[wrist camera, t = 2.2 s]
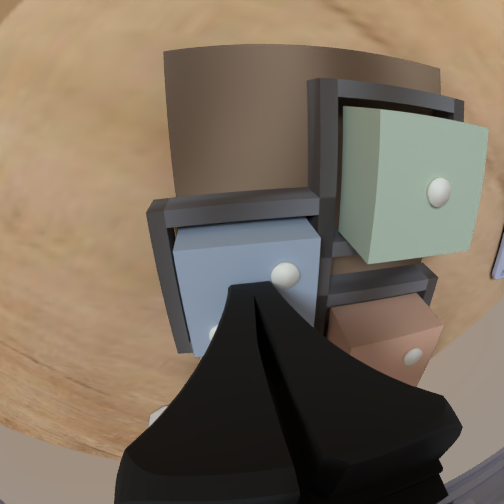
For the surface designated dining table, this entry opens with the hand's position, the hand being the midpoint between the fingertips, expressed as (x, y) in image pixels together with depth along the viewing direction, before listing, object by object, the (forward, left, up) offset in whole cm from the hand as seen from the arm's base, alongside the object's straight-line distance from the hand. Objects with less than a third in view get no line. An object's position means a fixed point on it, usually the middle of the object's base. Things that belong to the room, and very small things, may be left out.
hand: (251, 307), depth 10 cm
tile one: (-6, -4, -2) cm, 7 cm away
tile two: (-6, +4, -2) cm, 7 cm away
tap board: (-3, 0, -4) cm, 5 cm away
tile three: (0, 0, -3) cm, 3 cm away
